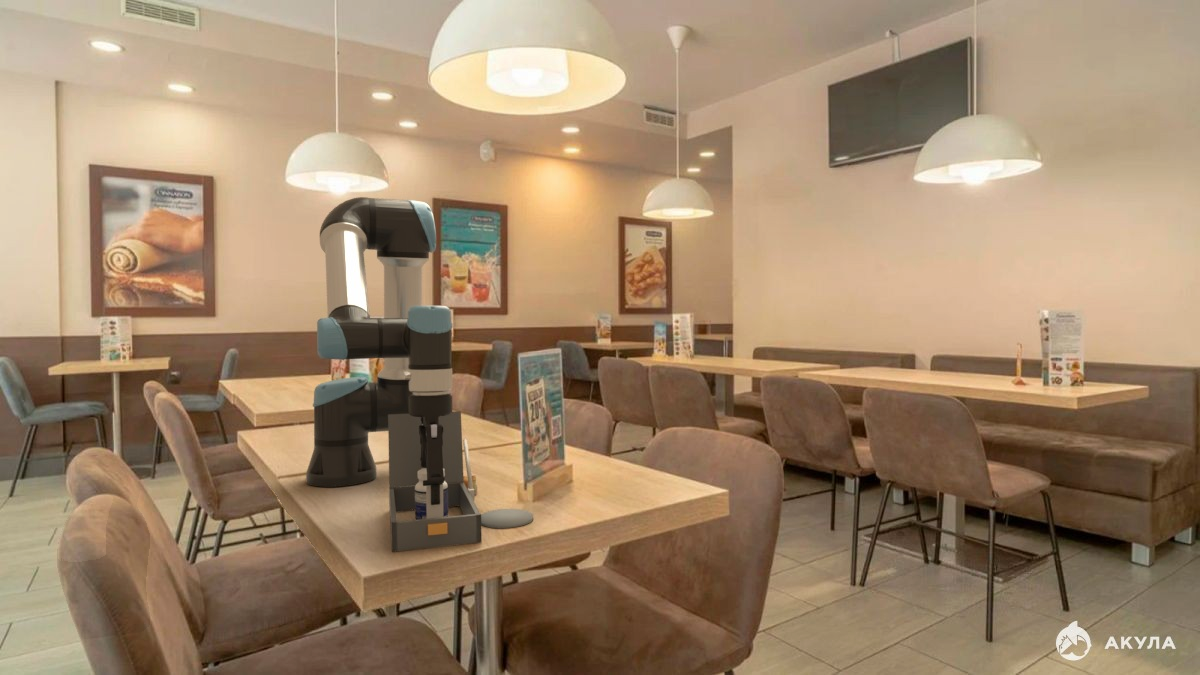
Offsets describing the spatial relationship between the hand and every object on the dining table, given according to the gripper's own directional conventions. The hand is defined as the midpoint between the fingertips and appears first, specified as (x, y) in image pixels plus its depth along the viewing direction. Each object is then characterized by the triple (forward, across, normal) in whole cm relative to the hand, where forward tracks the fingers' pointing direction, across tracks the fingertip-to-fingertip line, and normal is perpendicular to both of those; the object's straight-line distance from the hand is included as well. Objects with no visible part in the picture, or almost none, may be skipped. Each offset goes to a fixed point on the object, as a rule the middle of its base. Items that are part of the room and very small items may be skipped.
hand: (432, 512), depth 117 cm
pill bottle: (+3, 0, 0) cm, 3 cm away
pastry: (+3, -22, +7) cm, 23 cm away
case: (+2, -2, 0) cm, 3 cm away
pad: (+2, +1, +13) cm, 13 cm away
